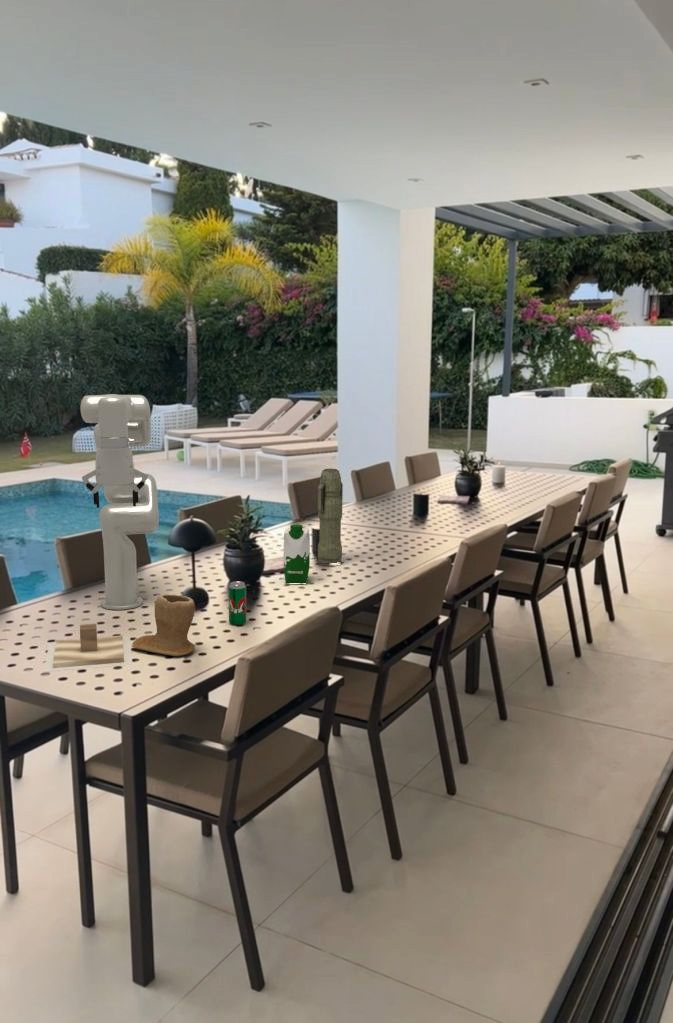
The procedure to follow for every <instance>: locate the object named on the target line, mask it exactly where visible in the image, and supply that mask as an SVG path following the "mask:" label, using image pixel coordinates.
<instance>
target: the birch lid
mask: <svg viewBox="0 0 673 1023" xmlns="http://www.w3.org/2000/svg"><path fill="white" fill-rule="evenodd" d="M123 637H124V636H123V635H114V636H113V635H110V636H109V635H108V636H99V637H98V632H97V623H87V624H80V625H79V638H73V639H69V638H68V639H58V640H55V642H56V646H55V653H54V659H53V668H59V667H71V666H84V665H96V664H108V663H120V662H124V652H123Z"/></svg>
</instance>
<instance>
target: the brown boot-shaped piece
mask: <svg viewBox="0 0 673 1023" xmlns="http://www.w3.org/2000/svg"><path fill="white" fill-rule="evenodd" d="M195 603H196V602H194V599H192V598H191V597H189V596H184V595H180V594H171V593H167V594H166V593H165V594H160V595H158V597H157V598H156V599H155V603H154V619H155V624H156V633H155V634H151V635H150V634H146V635H142V636H140V637H138V638H136V639H135V640H134V641H133V642H131V643H132V644H131V648H134V649H138V650H142V651H146V652H150V653H154V654H155V653H156V654H159V655H160V654H161V655H165V656H173V657H181V656H185V655H189V654H190V653H191V652H193V651H194V650H195V648H196V645H195V644H194V643H193V642H191V641H189V639H188V634H189V630H190V628H191V625H192V623H193V620H194V616H195V611H196V604H195Z"/></svg>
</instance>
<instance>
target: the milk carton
mask: <svg viewBox="0 0 673 1023" xmlns="http://www.w3.org/2000/svg"><path fill="white" fill-rule="evenodd" d="M283 534H284V535H283V574H284V582H285V584H286V583H306V582H308V577H309V572H310V567H311V566H310V564H311V562H310V561H311V560H310V559H311V558H310V557H311V552H310V551H311V548H310V547H311V545H310V544H311V542H310V541H311V536H310V531H309V527H308V528H307V527H306V528H305V527H303V524H298V523H297V524H291V525H290V527H286V528H285V530H284V533H283ZM306 584H307V583H306Z"/></svg>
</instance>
